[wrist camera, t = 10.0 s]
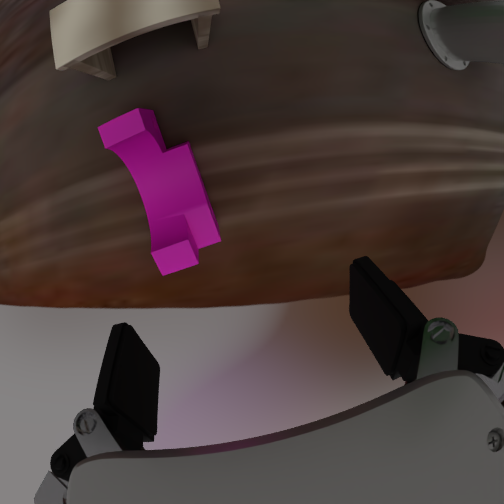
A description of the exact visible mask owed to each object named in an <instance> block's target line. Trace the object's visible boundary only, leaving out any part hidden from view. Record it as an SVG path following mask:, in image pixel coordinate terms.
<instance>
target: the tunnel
mask: <svg viewBox="0 0 504 504" xmlns="http://www.w3.org/2000/svg"><path fill="white" fill-rule="evenodd" d="M220 8H221V7H220V4H219V0H67V1H66V2H64V3H62V4H60V5H59V6H57V7H55V8H54V9H52V10H51V11H50V25H51V36H52V44H53V52H54V59H55V65H56V69H57V70H61V71H64V70H66V69H68V68H71V69H74V70H78V71H81V72H84V73H87V74H90V75H93V76H96V77H99V78H102V79H105V80H108V81H109V80H111V79H113V78H115V77H117V76H116V71H115V67H114V62H113V58H112V53H111V48H110V47H111V46H113V45H116V44H118V43H120V42H123V41H125V40H128V39H130V38H133V37H136V36H138V35H141V34H144V33H147V32H150V31H153V30H156V29H159V28H162V27H165V26H169V25H172V24H176V23H179V22H183V21H187V20H191V23H192V27H193V31H194V34H195V38H196V42H197V46H198V50H199V49H203V48H207V47H208V42H209V34H210V27H211V20H212V15H215V14H219V13H220Z"/></svg>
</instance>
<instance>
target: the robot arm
mask: <svg viewBox="0 0 504 504" xmlns="http://www.w3.org/2000/svg"><path fill="white" fill-rule="evenodd" d="M418 16H419V23H420V27H421V31H422V33H423V36H424V38H425V40H426V42H427V44H428V46H429V47H430V49H431V51H432V52H433V53H434V55H435V56H436V57H437V58H438V60H439V61H440V62H441V63H443V64H444V65H445V66H447V67H448V68H450V69H453V70H463V69H465V68H466V67H467V66H468V64H469V62H470V61H473V62H490V63H501V64H504V1H485V2H473V3H465V4H458V5H451V6H446V5H444V4H443V3H441V2H439V1H435V0H429V1H425V2H423V3H422V4H421V6H420V8H419V15H418ZM349 312H350V316H351V318H352V320H353V321H354V323H355V324H356V327H357V328H358V330H359V331H360V333H361V334H362V336H363V338H364V340H365V341H366V343H367V345H368V346H369V348H370V350H371V351H372V353H373V354H374V356H375V358H376V360H377V361H378V363H379V365H380V366H381V368H382V370H383V372H384V373H385V374H386V375H387V376H388V375H390V376H391V378H392V380H395V379H397V378H399V377H402V379H403V380H404V381H405V385H404V386H402V387H400V388H397V389H395V390H393V391H391V392H389V393H387V394H384V395H382V396H380V397H378V398H375V399H373V400H371V401H368V402H366V403H363V404H361V405H358V406H356V407H353V408H351V409H348V410H346V411H343V412H340V413H338V414H335V415H332V416H330V417H327V418H324V419H321V420H317V421H315V422H311V423H308V424H305V425H301V426H298V427H294V428H291V429H287V430H284V431H280V432H276V433H272V434H267V435H263V436H259V437H254V438H249V439H244V440H239V441H233V442H227V443H221V444H214V445H207V446H199V447H189V448H179V449H163V450H145V449H144V447H143V442H153V441H154V435H156V434H157V412H158V393H159V391H158V390H159V377H160V367H159V364H158V362H157V361H156V359H155V358H154V357H153V355H152V354H151V353H150V351H149V350H148V348H147V347H146V346H145V344H144V343H143V341H142V340H141V339H140V337H139V336H138V334H137V333H136V331H135V330H134V328H133V327H132V326H131V325H128V324H127V323H120V324H115V325H113V327H112V330H111V333H110V336H109V340H108V343H107V347H106V351H105V355H104V358H103V362H102V366H101V370H100V374H99V379H98V383H97V388H96V392H95V397H94V402H93V405H94V409H90V408H87V409H83V410H82V411H80V412H79V413H78V414H77V416H76V417H75V419H74V423H73V429H74V432H75V434H74V435H73V436H71V437H70V438H69V439H68V440H67V441H66V442H65V443H64V444H63V445H62V446H61V447H60V448H59V449H57V450H56V451H55V452H54V454H53V455H52V457H51V462H50V465H51V469H52V472H50V471H48V473H47V475H46V477H45V478H44V480H43V482H42V484H41V485H40V487H39V489H38V491H37V493H36V495H35V498H34V503H35V504H504V349H503V347H502V346H501V344H500V343H498V342H497V341H495V340H492V339H486V338H480V337H475V336H470V335H465V334H459V333H458V329H457V327H456V326H455V324H454V323H453V322H452V321H450V320H448V319H445V318H434V319H431V320H430V321H428V320H427V319H426V317H425V316H424V315H423V314H422V313H421V312H420V310H419V309H418V308H417V307H416V306H415V305H414V303H413V302H412V301H411V300H410V299H409V298H408V297H407V295H405V293H404V292H403V291H402V290H401V289H400V288H399V287H398V285H397V284H396V283H395V282H394V281H392V280H389V279H388V278H387V277H386V276H385V274H384V273H383V272H382V271H381V270H380V269H379V268H378V267H377V266H376V265H375V264H374V263H373V262H372V261H371V260H370V259H369V257H367V256H364V257H361V258H358V259H355V260H353V264H351V265H350V305H349Z"/></svg>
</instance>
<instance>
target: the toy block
mask: <svg viewBox="0 0 504 504" xmlns="http://www.w3.org/2000/svg"><path fill="white" fill-rule="evenodd" d="M98 129H99V132H100V135H101V138H102V141H103V144H104V146H105V149H110V150H112V151H114V152H115V153H116V154H117V155H118V156H119V157H120V158H121V159H122V160H123V162H124V163H125V164H126V166H127V168H128V169H129V171H130V173H131V175H132V176H133V178H134V181H135V183H136V185H137V187H138V190H139V192H140V195H141V197H142V200H143V203H144V206H145V210H146V213H147V217H148V221H149V226H150V232H151V254H152V256H153V258H154V260H155V262H156V264H157V266H158V268H159V270H160V271H161V273H162V275H163V276H164V275H167V274H170V273H173V272H175V271H178V270H181V269H184V268H187V267H190V266H193V265H196V264H199V259H198V249H199V248H202V247H205V246H208V245H211V244H214V243H217V242H220V241H221V238H220V232H219V227H218V223H217V220H216V218H215V215H214V212H213V209H212V206H211V204H210V201H209V198H208V195H207V192H206V190H205V187H204V184H203V181H202V178H201V175H200V172H199V170H198V167H197V164H196V161H195V158H194V155H193V152H192V149H191V146H190V143H189V141H187V142H185V143H182V144H179V145H176V146H174V147H171V148H169V149H166V146H165V143H164V140H163V137H162V135H161V132H160V129H159V126H158V123H157V120H156V117H155V114H154V111H153V110H149V109H142V108H137V109H135V110H132V111H130V112H128V113H126V114H124V115H121V116H119V117H117V118H115V119H113V120H111V121H109V122H107V123H105V124H103V125H101V126H99V127H98Z"/></svg>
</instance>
